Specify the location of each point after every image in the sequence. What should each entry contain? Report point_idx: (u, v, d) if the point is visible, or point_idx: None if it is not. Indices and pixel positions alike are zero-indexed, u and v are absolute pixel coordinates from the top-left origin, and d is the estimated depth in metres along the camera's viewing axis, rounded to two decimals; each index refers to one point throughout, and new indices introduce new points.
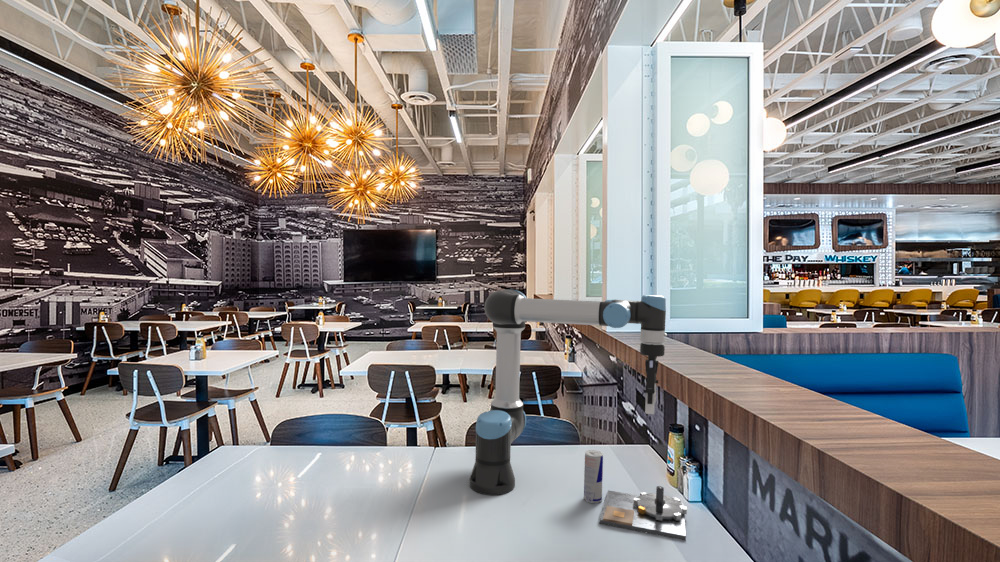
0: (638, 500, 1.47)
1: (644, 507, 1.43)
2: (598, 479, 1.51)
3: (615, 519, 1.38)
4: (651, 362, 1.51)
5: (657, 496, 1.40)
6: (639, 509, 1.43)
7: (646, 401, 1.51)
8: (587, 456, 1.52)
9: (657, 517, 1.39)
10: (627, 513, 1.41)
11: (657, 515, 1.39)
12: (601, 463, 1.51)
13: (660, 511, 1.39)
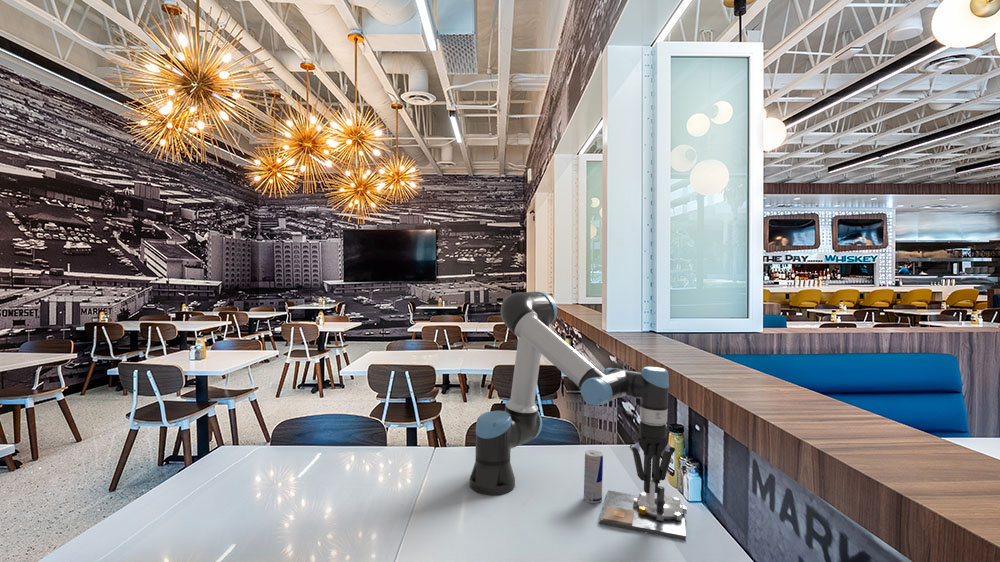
0: (638, 500, 1.47)
1: (644, 507, 1.43)
2: (598, 479, 1.51)
3: (615, 519, 1.38)
4: (631, 449, 1.39)
5: (658, 496, 1.40)
6: (640, 509, 1.42)
7: None
8: (587, 456, 1.52)
9: (658, 517, 1.39)
10: (627, 513, 1.41)
11: (658, 515, 1.39)
12: (601, 463, 1.51)
13: (661, 511, 1.39)
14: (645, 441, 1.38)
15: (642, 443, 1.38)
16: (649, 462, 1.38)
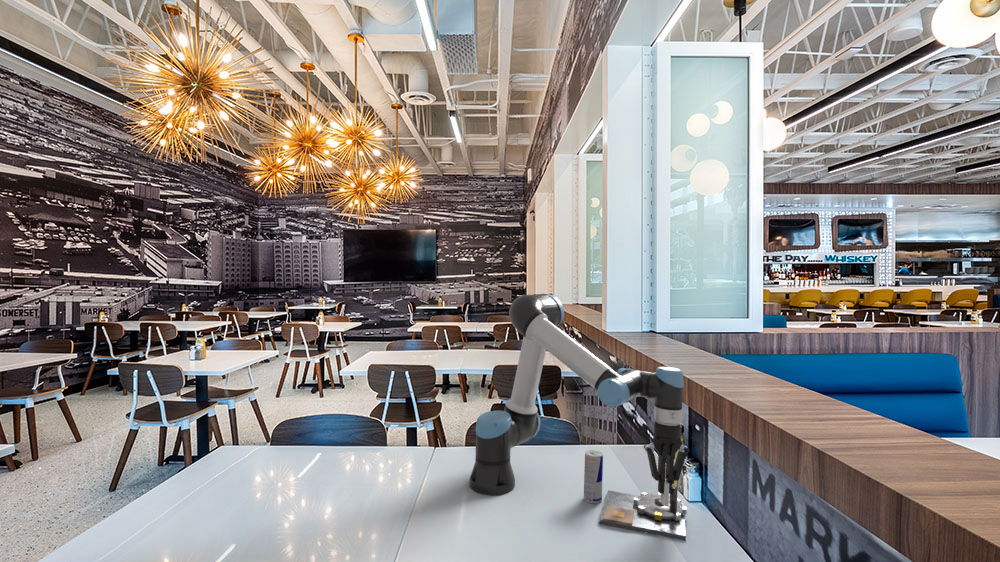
0: (644, 507, 1.43)
1: (659, 512, 1.40)
2: (598, 479, 1.51)
3: (615, 519, 1.38)
4: (645, 449, 1.39)
5: (673, 496, 1.40)
6: (657, 516, 1.39)
7: None
8: (587, 456, 1.52)
9: (676, 518, 1.39)
10: (627, 513, 1.41)
11: (676, 516, 1.39)
12: (601, 463, 1.51)
13: (676, 511, 1.40)
14: (659, 441, 1.38)
15: (656, 443, 1.38)
16: (663, 462, 1.38)
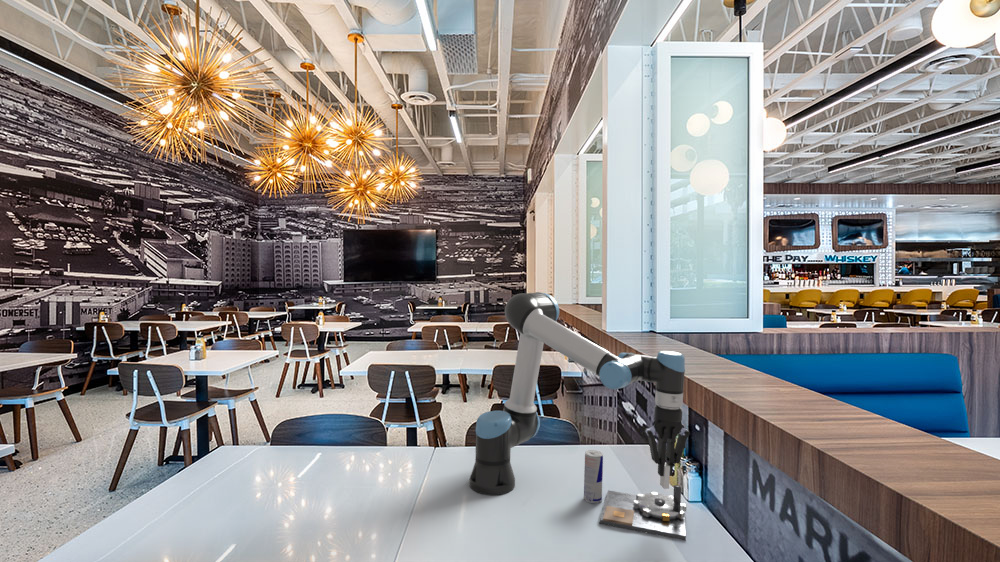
0: (649, 510, 1.41)
1: (665, 513, 1.39)
2: (598, 479, 1.51)
3: (615, 519, 1.38)
4: (646, 432, 1.40)
5: (678, 495, 1.40)
6: (665, 517, 1.38)
7: None
8: (587, 456, 1.52)
9: (682, 516, 1.40)
10: (627, 513, 1.41)
11: (682, 514, 1.40)
12: (601, 463, 1.51)
13: (680, 509, 1.41)
14: (660, 425, 1.39)
15: (657, 426, 1.39)
16: (664, 445, 1.39)
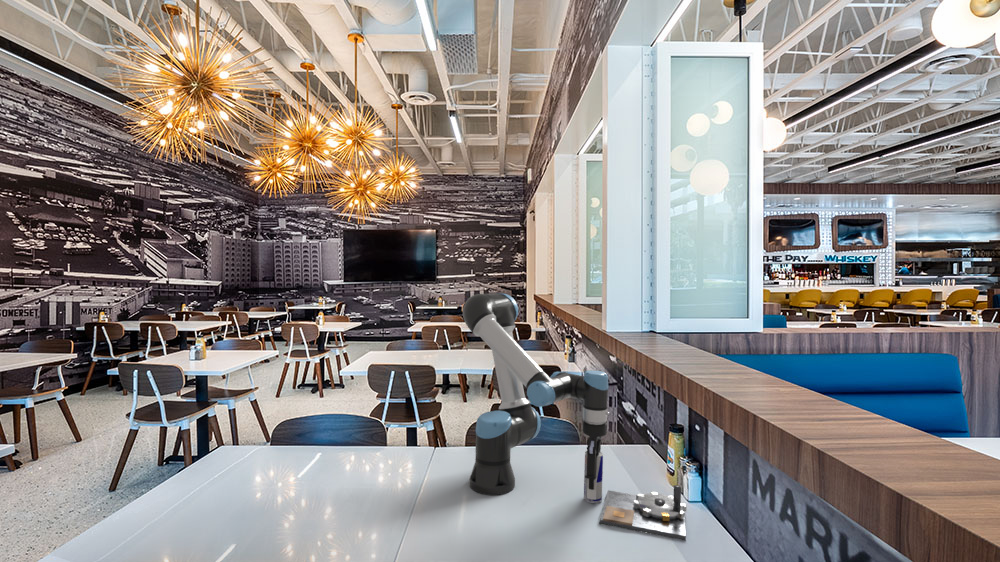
0: (649, 510, 1.41)
1: (665, 513, 1.39)
2: (598, 479, 1.50)
3: (615, 519, 1.38)
4: (591, 450, 1.47)
5: (678, 495, 1.40)
6: (665, 517, 1.38)
7: (588, 486, 1.50)
8: None
9: (682, 516, 1.40)
10: (627, 513, 1.41)
11: (682, 514, 1.40)
12: (601, 463, 1.51)
13: (680, 509, 1.41)
14: (596, 441, 1.50)
15: (596, 443, 1.49)
16: (596, 459, 1.50)
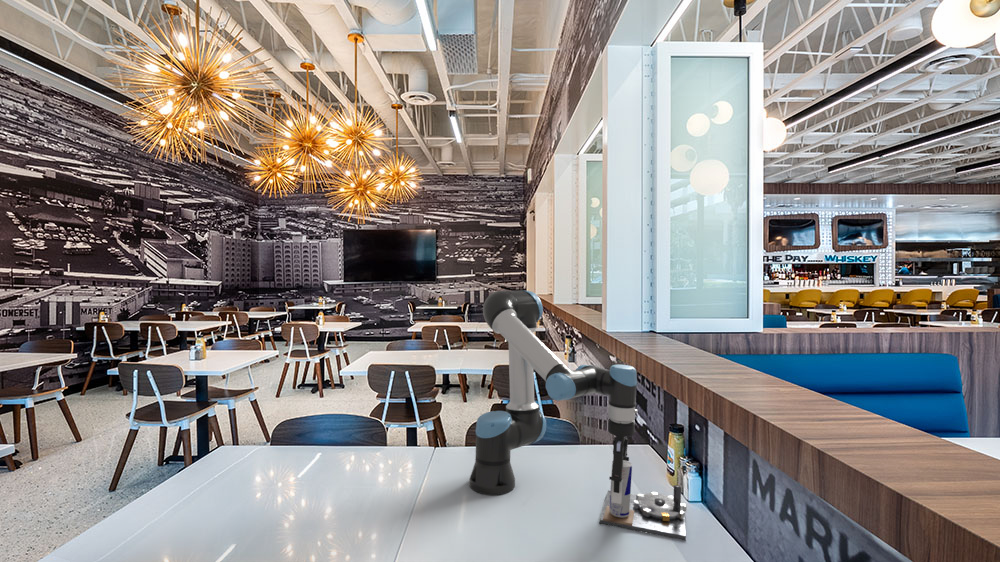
0: (649, 510, 1.41)
1: (665, 513, 1.39)
2: (627, 491, 1.38)
3: (615, 519, 1.38)
4: (618, 445, 1.34)
5: (678, 495, 1.40)
6: (665, 517, 1.38)
7: (612, 489, 1.34)
8: None
9: (682, 516, 1.40)
10: None
11: (682, 514, 1.40)
12: (630, 474, 1.39)
13: (680, 509, 1.41)
14: (623, 442, 1.38)
15: (623, 443, 1.37)
16: None
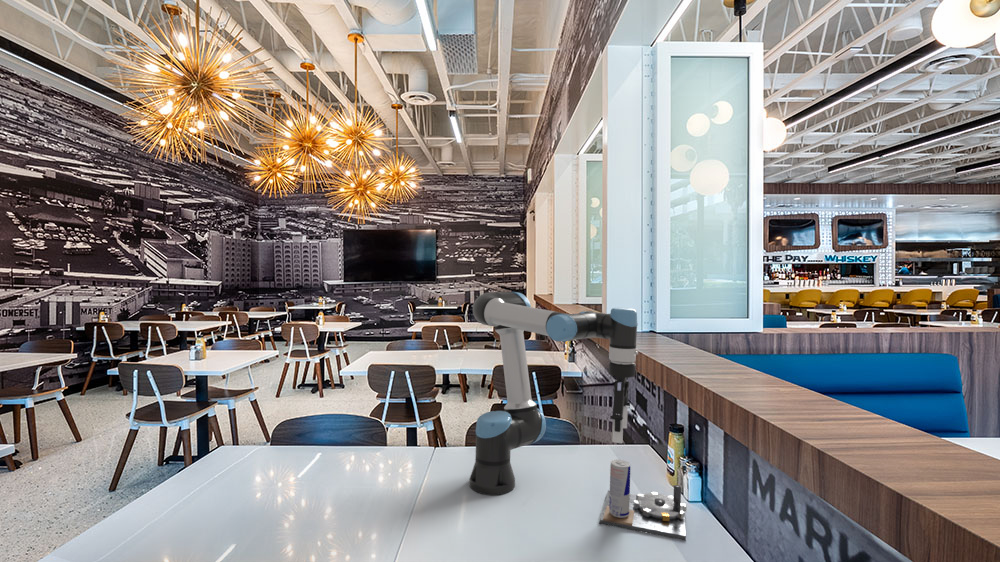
0: (649, 510, 1.41)
1: (665, 513, 1.39)
2: (626, 491, 1.38)
3: (615, 519, 1.38)
4: (619, 385, 1.34)
5: (678, 495, 1.40)
6: (665, 517, 1.38)
7: (613, 428, 1.34)
8: (613, 467, 1.39)
9: (682, 516, 1.40)
10: None
11: (682, 514, 1.40)
12: (629, 474, 1.39)
13: (680, 509, 1.41)
14: (624, 383, 1.38)
15: (624, 383, 1.37)
16: (624, 400, 1.36)
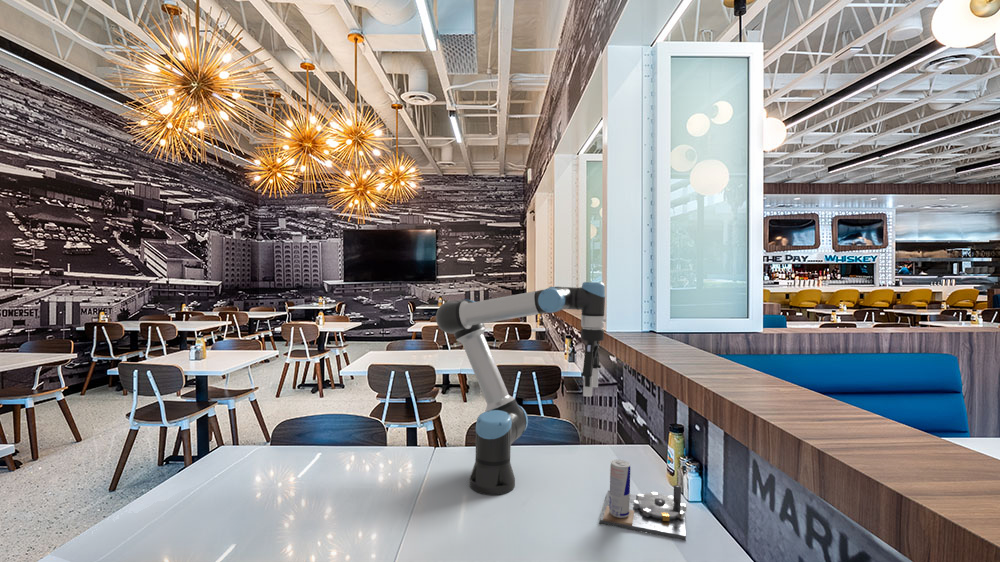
0: (649, 510, 1.41)
1: (665, 513, 1.39)
2: (626, 491, 1.38)
3: (615, 519, 1.38)
4: (589, 347, 1.56)
5: (678, 495, 1.40)
6: (665, 517, 1.38)
7: (584, 384, 1.56)
8: (613, 467, 1.39)
9: (682, 516, 1.40)
10: None
11: (682, 514, 1.40)
12: (629, 474, 1.39)
13: (680, 509, 1.41)
14: (594, 346, 1.60)
15: (593, 346, 1.59)
16: (593, 360, 1.58)
